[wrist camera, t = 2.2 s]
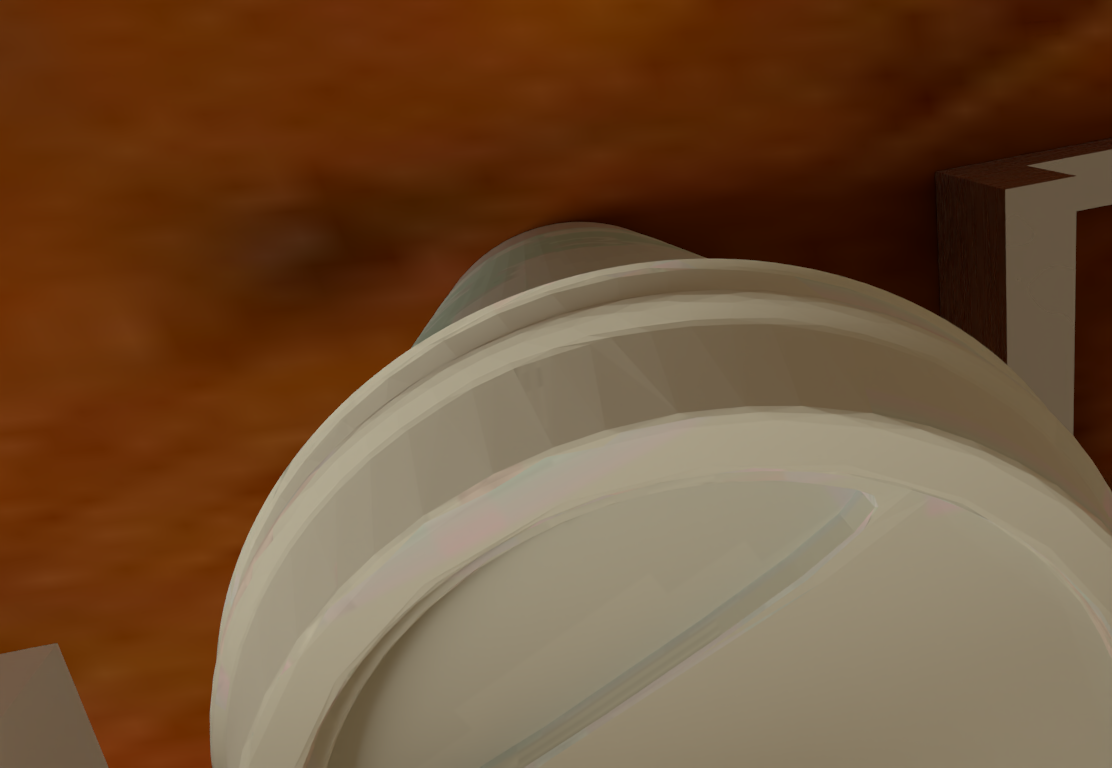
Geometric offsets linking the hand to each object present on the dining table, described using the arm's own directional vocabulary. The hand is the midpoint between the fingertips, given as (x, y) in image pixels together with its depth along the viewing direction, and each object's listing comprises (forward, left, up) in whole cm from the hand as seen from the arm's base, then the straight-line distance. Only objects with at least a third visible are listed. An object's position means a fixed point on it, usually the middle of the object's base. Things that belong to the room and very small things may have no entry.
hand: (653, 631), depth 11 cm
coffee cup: (0, 0, -9) cm, 9 cm away
